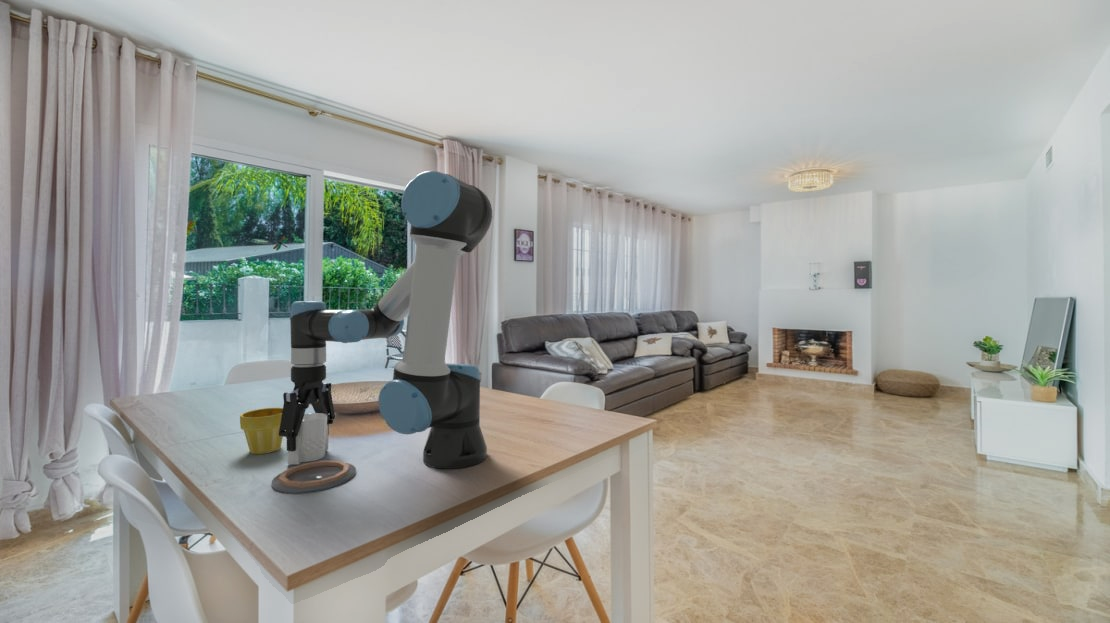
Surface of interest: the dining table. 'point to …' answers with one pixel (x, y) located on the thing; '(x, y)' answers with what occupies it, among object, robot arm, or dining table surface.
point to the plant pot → (262, 429)
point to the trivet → (313, 476)
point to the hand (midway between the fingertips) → (308, 456)
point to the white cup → (313, 436)
